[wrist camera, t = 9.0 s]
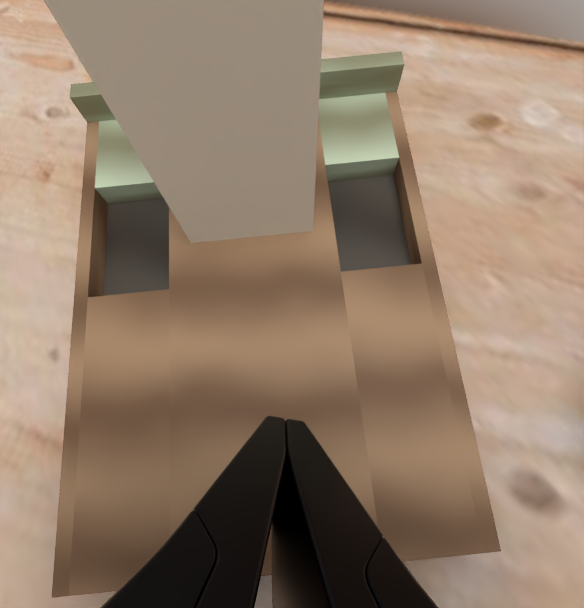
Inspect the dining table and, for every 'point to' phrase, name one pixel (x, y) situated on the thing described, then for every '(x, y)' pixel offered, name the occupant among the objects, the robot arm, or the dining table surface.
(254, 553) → the robot arm
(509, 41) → the dining table surface
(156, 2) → the cream block
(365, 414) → the tray
